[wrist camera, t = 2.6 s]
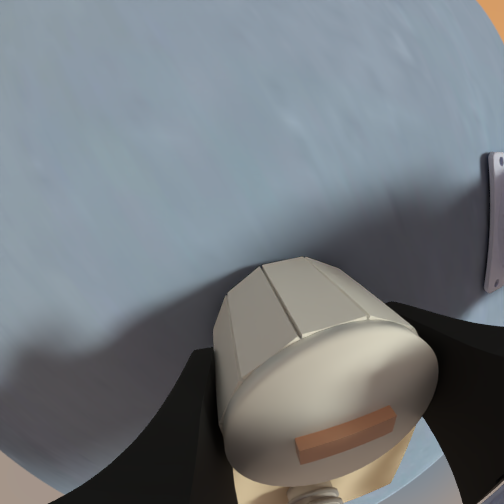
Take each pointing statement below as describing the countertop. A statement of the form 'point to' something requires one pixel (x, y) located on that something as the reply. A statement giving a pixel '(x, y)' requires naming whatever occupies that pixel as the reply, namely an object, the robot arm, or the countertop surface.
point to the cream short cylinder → (314, 374)
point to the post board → (326, 483)
